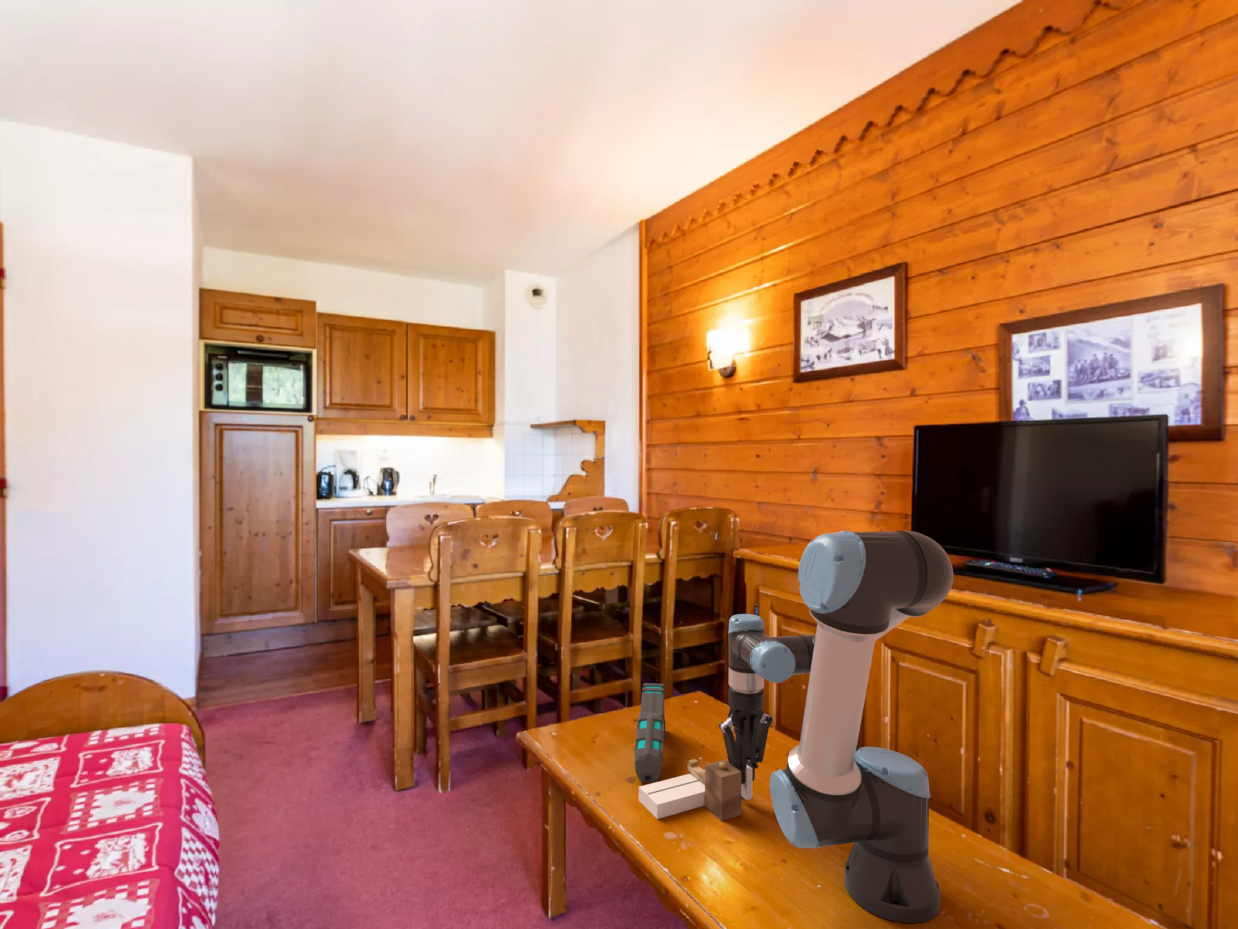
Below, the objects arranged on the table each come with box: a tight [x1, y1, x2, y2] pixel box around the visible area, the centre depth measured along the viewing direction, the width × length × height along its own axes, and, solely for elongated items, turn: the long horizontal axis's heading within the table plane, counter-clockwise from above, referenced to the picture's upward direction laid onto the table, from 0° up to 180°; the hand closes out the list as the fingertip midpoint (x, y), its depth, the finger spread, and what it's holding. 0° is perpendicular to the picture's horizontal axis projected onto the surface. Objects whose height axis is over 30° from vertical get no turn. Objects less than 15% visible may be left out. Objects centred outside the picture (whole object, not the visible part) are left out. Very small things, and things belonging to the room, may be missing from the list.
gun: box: [633, 682, 666, 784], centre depth 159 cm, size 6×29×15 cm, turn 174°
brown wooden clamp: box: [686, 758, 742, 822], centre depth 138 cm, size 15×5×10 cm, turn 27°
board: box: [638, 769, 705, 820], centre depth 139 cm, size 8×22×3 cm, turn 117°
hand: (745, 796), depth 136 cm, fingers closed
